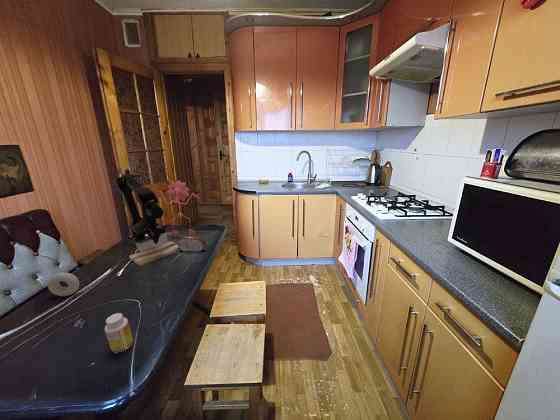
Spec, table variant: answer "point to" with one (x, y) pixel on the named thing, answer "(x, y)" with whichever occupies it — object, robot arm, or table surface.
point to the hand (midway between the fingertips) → (154, 242)
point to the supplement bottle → (118, 333)
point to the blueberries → (80, 323)
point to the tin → (191, 243)
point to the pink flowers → (178, 193)
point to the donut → (66, 277)
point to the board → (154, 253)
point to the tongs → (150, 242)
